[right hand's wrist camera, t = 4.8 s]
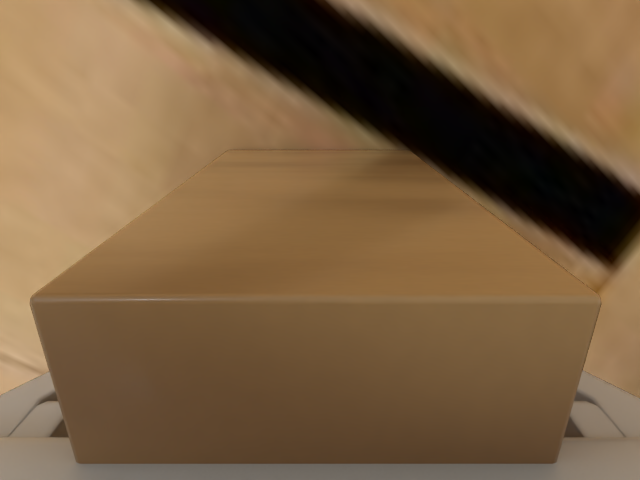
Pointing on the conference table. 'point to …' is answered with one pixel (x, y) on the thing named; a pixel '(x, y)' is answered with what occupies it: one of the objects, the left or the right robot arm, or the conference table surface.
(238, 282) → the bar
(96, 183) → the conference table surface
